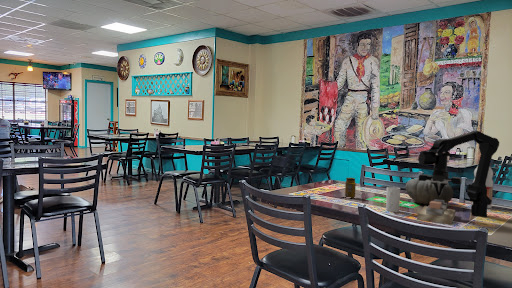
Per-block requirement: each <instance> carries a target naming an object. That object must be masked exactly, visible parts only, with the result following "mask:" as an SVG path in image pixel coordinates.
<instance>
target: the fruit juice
mask: <svg viewBox="0 0 512 288" xmlns="http://www.w3.org/2000/svg"><path fill="white" fill-rule="evenodd" d="M478 157H479V158H478V159H480V156H478ZM477 168H478V165H477V166H476V168H475V169H474V171H473V175H474V179H473V180H472V181H473V182H474V180H475V176H476V172H477ZM493 176H494V170H493V169H492V167H491V166H490V167H489V171H488V175H487V179H486V188H487V196H488V197H489V198H490V199H491V200H492V202H491V205H487V209H491V208H492V206H493V190H494V189H493V188H494V181H493ZM473 182H472V183H473ZM471 205H473V202H471Z"/></svg>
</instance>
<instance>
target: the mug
mask: <svg viewBox="0 0 512 288" xmlns="http://www.w3.org/2000/svg"><path fill="white" fill-rule="evenodd" d="M385 199H386V202H385V211H386V212H391V213H398V212H400V203H401V201H400V200H401V187H397V186H386V195H385Z"/></svg>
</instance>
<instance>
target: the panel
mask: <svg viewBox="0 0 512 288" xmlns="http://www.w3.org/2000/svg"><path fill="white" fill-rule="evenodd" d="M427 205H428V206H427ZM427 205H424V206H423V207H422V208H421V209H420V210H419V211H417V212H416V213H417V215H416V216H417V217H416V220H418V221H424V222H432V223H437V224H438V223H439V224H446V225H451V224H452V223H453V220H454V218H455V216H456V209H451V208H448V203H444V205H441V209H434V208H429V206H430V205H429V204H427Z"/></svg>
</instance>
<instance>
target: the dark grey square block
mask: <svg viewBox="0 0 512 288" xmlns="http://www.w3.org/2000/svg"><path fill="white" fill-rule="evenodd" d="M434 201H436V202H441V205H444V201H445V200H437V199H435V200H434Z"/></svg>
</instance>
